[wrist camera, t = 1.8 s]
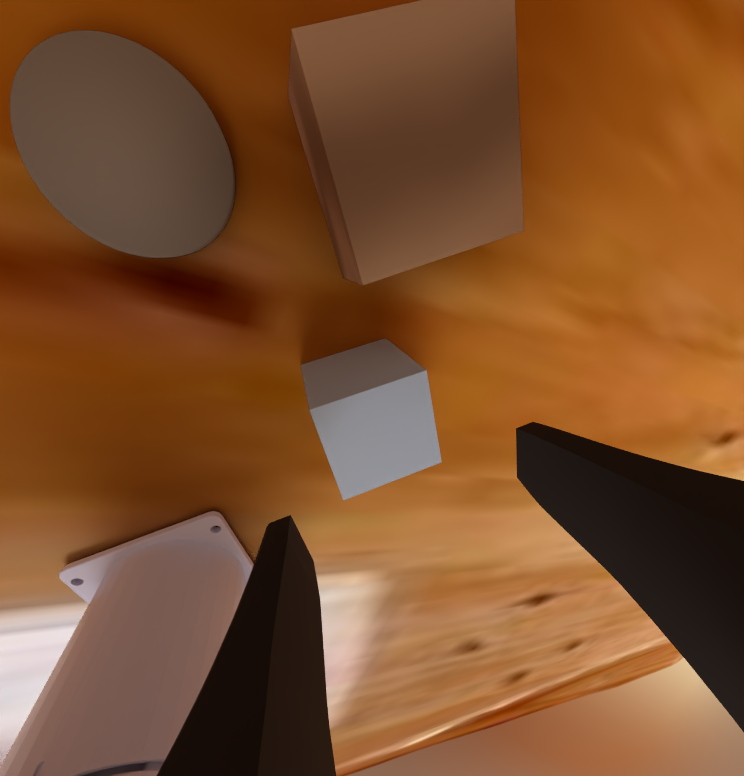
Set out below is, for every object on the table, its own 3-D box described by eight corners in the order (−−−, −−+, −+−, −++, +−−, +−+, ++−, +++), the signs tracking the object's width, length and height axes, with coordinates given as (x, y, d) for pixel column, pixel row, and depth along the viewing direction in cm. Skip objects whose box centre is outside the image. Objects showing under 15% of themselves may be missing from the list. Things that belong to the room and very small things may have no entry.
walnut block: (466, 236, 15) (523, 231, 12) (342, 277, 14) (363, 285, 11) (445, 59, 12) (514, -21, 9) (287, 98, 11) (291, 28, 8)
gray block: (401, 410, 18) (441, 462, 13) (326, 437, 17) (343, 500, 13) (385, 337, 16) (426, 370, 11) (300, 364, 15) (309, 410, 11)
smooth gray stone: (260, 237, 13) (259, 235, 12) (108, 274, 12) (92, 276, 11) (191, 40, 10) (181, 16, 9) (-12, 70, 9) (-49, 47, 8)
